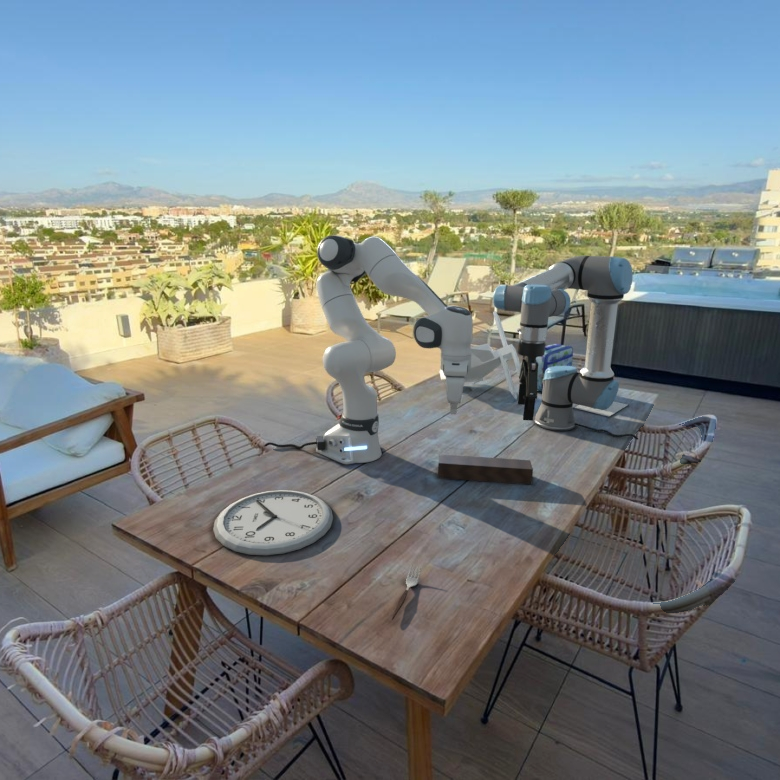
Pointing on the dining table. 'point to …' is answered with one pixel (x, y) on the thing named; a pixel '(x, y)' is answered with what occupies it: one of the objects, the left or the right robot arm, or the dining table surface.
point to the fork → (410, 583)
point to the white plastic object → (491, 360)
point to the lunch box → (553, 360)
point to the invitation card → (608, 412)
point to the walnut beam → (485, 469)
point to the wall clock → (273, 522)
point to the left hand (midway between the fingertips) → (453, 408)
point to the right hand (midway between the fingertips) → (524, 412)
